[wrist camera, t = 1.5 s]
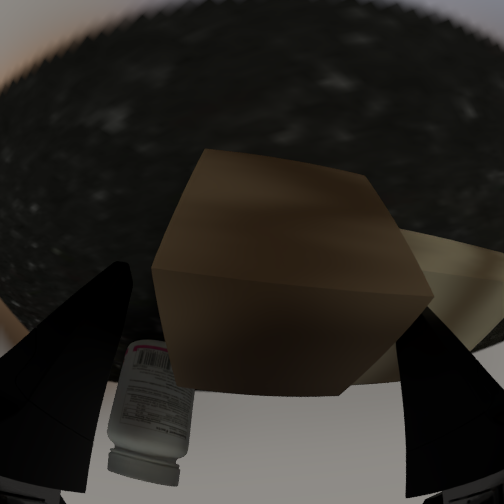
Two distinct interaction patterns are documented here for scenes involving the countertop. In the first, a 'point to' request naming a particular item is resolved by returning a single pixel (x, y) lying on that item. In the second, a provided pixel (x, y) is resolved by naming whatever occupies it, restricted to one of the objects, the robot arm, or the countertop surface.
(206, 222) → the walnut cube
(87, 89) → the countertop surface
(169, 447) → the pill bottle
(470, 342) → the maple block
